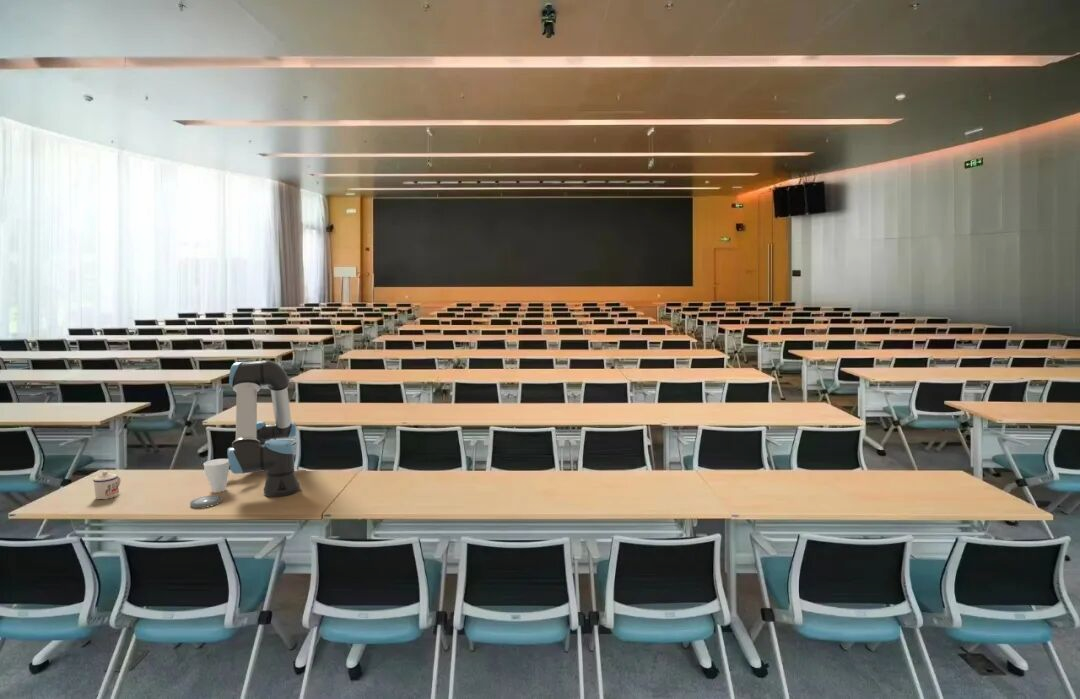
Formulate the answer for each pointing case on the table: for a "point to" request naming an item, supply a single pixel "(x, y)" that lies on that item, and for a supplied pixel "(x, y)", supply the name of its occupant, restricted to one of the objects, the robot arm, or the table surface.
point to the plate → (205, 501)
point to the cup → (217, 474)
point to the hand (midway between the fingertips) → (222, 470)
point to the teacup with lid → (106, 485)
